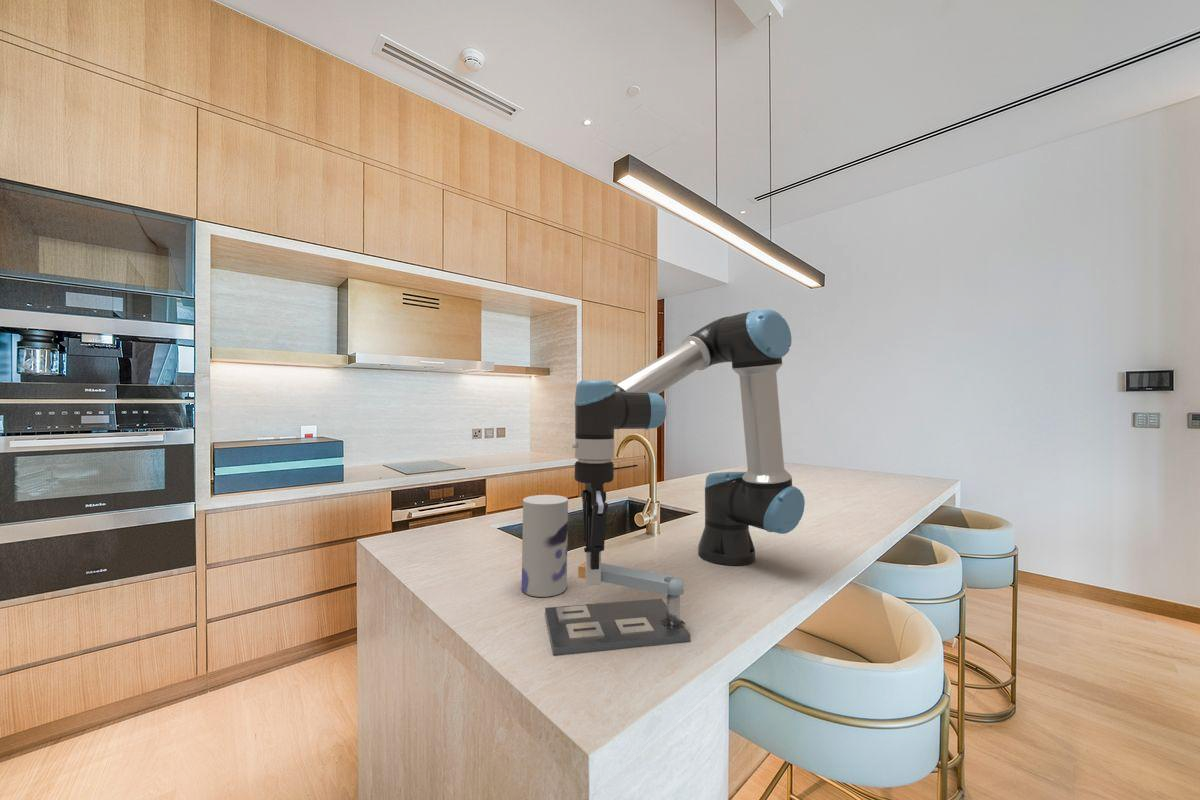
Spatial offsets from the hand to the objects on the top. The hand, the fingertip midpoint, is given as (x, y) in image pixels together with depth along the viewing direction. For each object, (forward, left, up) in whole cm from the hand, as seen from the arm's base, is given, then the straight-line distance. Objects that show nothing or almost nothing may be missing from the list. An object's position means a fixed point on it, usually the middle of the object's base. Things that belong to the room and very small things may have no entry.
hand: (593, 584), depth 87 cm
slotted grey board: (-3, +3, -7) cm, 8 cm away
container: (+8, -17, -7) cm, 20 cm away
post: (-14, +6, -7) cm, 17 cm away
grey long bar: (-7, +1, 0) cm, 7 cm away
